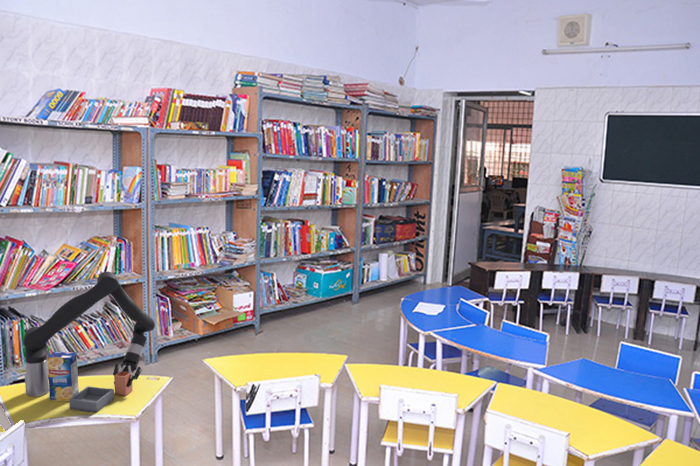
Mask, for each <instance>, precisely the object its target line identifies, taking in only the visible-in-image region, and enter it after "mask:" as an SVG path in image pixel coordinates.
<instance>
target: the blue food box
mask: <svg viewBox="0 0 700 466" xmlns="http://www.w3.org/2000/svg"><path fill="white" fill-rule="evenodd" d="M47 367H48V383H49V392H48V393H49V401H67V402H68V401H69V399H70V398H72V397H73V396H75V395H76V394H77V393H79V392H80V391H79V377H78V376H79V372H78V355H77V352H75V351H73V352H72V351H53V352H52V353H51V354H49V355H47Z"/></svg>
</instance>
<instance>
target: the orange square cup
mask: <svg viewBox="0 0 700 466" xmlns="http://www.w3.org/2000/svg"><path fill="white" fill-rule="evenodd" d="M113 377H114V378H113V379H114V381H113V384H114V395H116V396H117V395H118V396H124V397H125V396H128V395H129V394H130V393H132V391H133V383H132V384H131V386H130V387H127V386H126V385H127V382H128V380H129V379H130V373H127V372H125V371H122V374H120V372H118V373H117V374H116V375H113Z"/></svg>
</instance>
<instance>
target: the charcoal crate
mask: <svg viewBox="0 0 700 466" xmlns="http://www.w3.org/2000/svg"><path fill="white" fill-rule="evenodd" d="M114 400H115V388H114V389H113V388H105V387H97V386H88V385H87V386H86V387H84V388H83V389H82V390H80V391H79V393H77V394H76V395H75V396H73V397H72V398H70V399H69V402H68V403H69V410H72V411H73V410H74V411H80V412H89V413H95V414H97V413H98V412H100V411H101V410H102V409H103V408H105V407H106V406H107V405H108V404H110V403H111V402H112V401H114Z"/></svg>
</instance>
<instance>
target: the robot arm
mask: <svg viewBox="0 0 700 466" xmlns="http://www.w3.org/2000/svg"><path fill="white" fill-rule="evenodd" d="M96 282H97V283H96V284H95V285H94V286H93V287H91V288H90V289H89V290H88V291H86V292H84V293H82V294H80V295H76V296H75V297H72V298H71V299H69V300H68V301H66V302H65V303H64V304H63V305H61V306H60V307H59V308H58V309H57V310H56V311H55V312H54V313H53V314H52V315H51V316H50V318H49V319H48V320H47V321H46V322H44V323H43V324H41V325H40V326H32V327H30V328H28V329H27V330H26V331H25V333H24V336H23V346H24V348H25V349H24V350H25V351H24V352H25V353H24V355H25V356H24V359H25V371H26V372H25V373H26V375H24V384H25V385H24V387H25V395H28V396H29V397H31V398H36V397H41V396H45V395H47V394H48V393H49V378H48V362H47V357H48V349H47V342H48V341H50V340H51V338H52V337H54V336H56V334H57V333H58V332H60V331H61V330H63V329H65V328H66V327H68V326H69V325H70V324H71V323H72V322H74V321H76V320H77V319H79V318H80V317H81V316H82V315H83V314H85V312H87V311H89V309H91V308H92V307H93V306H94V305H95V304H97V303H98V302H100V301H101V300H103V299H105V298H106V297H108V296H112V297H113V299H114V300H115V302H116V303H117V304H118V306H119V307H120V308H121V310H122V311H123V313H124V314H125V315H126V316H127V317H128V318H129V320H131V321H133V322H135V323H134V326H133V333H132V339H131V341H130V343H129V346H128V347H127V350H126V353H125V355H124V357H123V360H122V363H121V364H117V363H116V364H115V366H114V369H113V373H112V375H113V376H114V375H116V374H117V373H118V372H120V374H122V371H125V372H127V373H130V379H129V380H128V382H127V385H126V386H127V387H130V386H131V384H132V385H133V381H135V380H138V378H139V376H140V374H141V372H142V371H143V368H142V367H141V366H138V365H139V363H140V360H141V358H142V355H143V352H144V348H145V345H146V343H147V340H148V339H147V336H145V333H148V332H152V331H154V329H155V327H156V323H155V321H154V319H153V318H152V317H151V316H150V315H148V313H146V312H144V311H143V310H141V308H140V306H139V305H137V303H136V302H135V300H133V299H132V298H131V296H129V295H128V293H127V292H126V290H124V288H123V286H122V285H121V283H120V282H119V281H118V279H117V276H116V275H115V273H114V272H111V271H103V272H100V273H99V275H98V276H97V281H96ZM134 372H135V373H134Z"/></svg>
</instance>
